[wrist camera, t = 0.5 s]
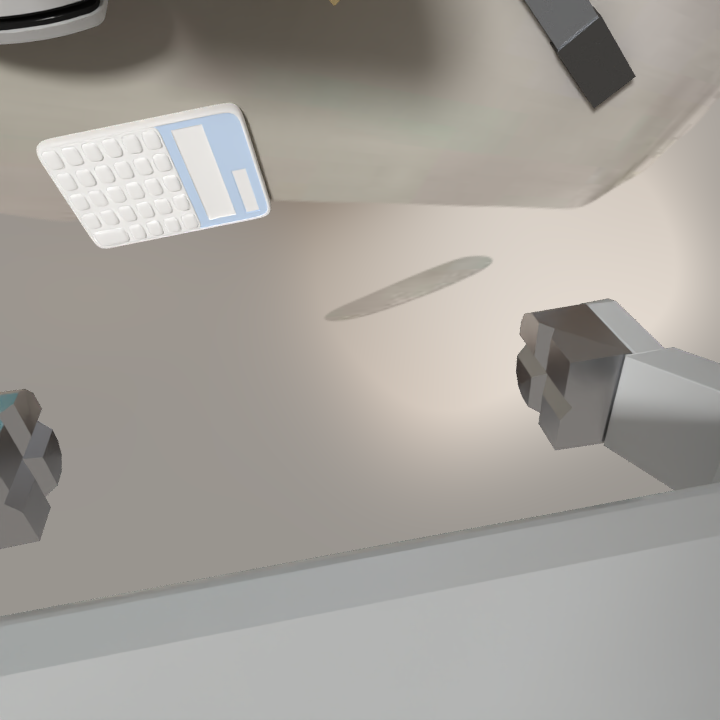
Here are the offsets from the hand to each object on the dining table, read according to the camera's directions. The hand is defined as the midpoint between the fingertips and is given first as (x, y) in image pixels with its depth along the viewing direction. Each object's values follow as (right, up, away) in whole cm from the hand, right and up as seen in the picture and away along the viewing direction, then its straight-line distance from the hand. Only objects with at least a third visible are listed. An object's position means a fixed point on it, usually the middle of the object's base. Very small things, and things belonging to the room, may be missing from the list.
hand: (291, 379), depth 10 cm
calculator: (-19, +20, +52) cm, 59 cm away
